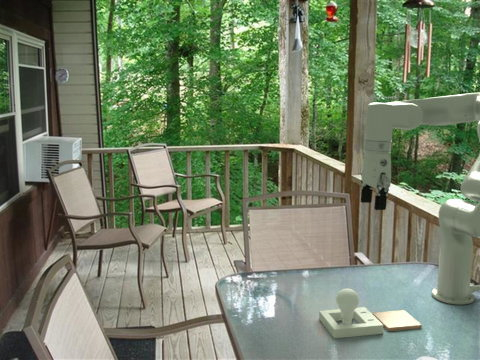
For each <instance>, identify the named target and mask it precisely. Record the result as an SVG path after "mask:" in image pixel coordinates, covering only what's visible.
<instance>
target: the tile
mask: <svg viewBox="0 0 480 360" xmlns="http://www.w3.org/2000/svg"><path fill="white" fill-rule="evenodd" d="M371 313H372V314H373V315H374V316H375V317H376V318H377V319H378V320H379V321H380V322H381V323H382V324H383V329H385V330H386V331H387V332H395V331H405V330H407V331H408V330H417V329H422V328H423V324H421V322H420V321H418V320H417V319H416V318H415V317H413V316H412V315H411V314H410V313H408V312H407V311H406V310H404V309H399V310H388V311H387V310H386V311H378V312H371Z"/></svg>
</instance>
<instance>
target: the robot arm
mask: <svg viewBox="0 0 480 360" xmlns="http://www.w3.org/2000/svg"><path fill="white" fill-rule="evenodd" d="M472 122H478V123H477V127H476V128H477V129H476V133H477V137H478V139H479V142H480V92H471V93H470V92H469V93H461V94H453V95H444V96H435V97H427V98H419V99H418V98H417V99H407V100H399V101H391V102H371V103H368V105H367V106H366V113H365V126H364V127H365V128H364V140H363V152H364V156H363V162H362V170H361V173H360V177H361V181H360V182H361V185H360V189H361V193H360V202H361V203H362V204H366V203H367V204H368V203H369V204H370V203H372V200H373V199H372V197H373V189H372V188H375V192H376V195H375V197H374V207H373V208H374V210H375V211H385V210H386V209H387V198H388V195H389V194H388V193H389V191H390V187H391V183H392V182H391V180H392V159H391V158H392V157H391V156H392V155H391V153H392V143H393V132H394V129H395V130H397V129H398V130H403V131H411V130H414V129H417V128H419V126H421V125H425V126H449V125H455V124H462V123H466V124H467V123H472ZM460 193H461V195H462V196H463V197H464V198H466V199H468V200H470V201H474V202H477V203H473V202H470V201H467V200H463V199H458V198H451V199H447V200H445V201H444V202H443V203H442V204H441V206H440V208H439V210H438V224H439V230H440V233H439V235H440V238H439V252H438V253H439V255H438V271H437V285H436V287H434V288H433V289H432V290H431V296H432V297H433V298H434V299H436V300H437V301H439V302H443V303H446V304H449V305H451V304H452V305H456V306H457V305H461V306H462V305H463V306H464V305H469V304H472V303H473V302H474V301H475V295H474V294H473V293H476V292H480V284H476V285H475V283H474V282H472V283H471V276H472V275H471V273H472V264H473V262H472V261H473V251H474V242H473V238H477V239H480V153H478V156H477V158H476V160H475V162H474V164H473V165H472V166H471V168H470V170H469V171H468V173H467V174H466V176H465V178H463V181H462V182H461V185H460ZM472 237H473V238H472Z"/></svg>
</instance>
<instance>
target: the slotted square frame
mask: <svg viewBox="0 0 480 360" xmlns="http://www.w3.org/2000/svg"><path fill="white" fill-rule="evenodd" d="M318 312H319V313H318V319H319V321H320V322H321V323H322V325H323V326H324V328H325V329H326V330H327V331H328V332H329V334H330V335H331V336H332V337H333V339H339V338H350V337H351V338H352V337H361V336H372V335H373V336H375V335H382V334H384V327H383V324H382V323H381V322H380V321H379V320H378V319H377V318H376V317H375V316H374V315H373V314H372V313H373V312H370V311H369V309H368V308H366V306H361V307H356V309H355V310H354V313H353V318H352V320H355V322H356V323H351V325H343V324H341V325H339V324H338V323H337V321H338V322H339V321H342V317H341V310H340V308H337V309H325V310H319V311H318Z"/></svg>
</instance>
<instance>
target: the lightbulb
mask: <svg viewBox="0 0 480 360" xmlns="http://www.w3.org/2000/svg"><path fill="white" fill-rule="evenodd" d="M336 295H337V296H336V297H335V298H336V299H335V300H336V304H337V305H338V309H340V310H341V317H342V320H341V322H342V323H341V325H351V324H353V323H352V321H353V319H352V318H353V313H354V310H355V309H356V308H358V305H359V303H360V298H359V295H358V293H357V292H356V291H355V290H353V289H351V288H342V289H341V290H339V292H338V293H337V294H336Z"/></svg>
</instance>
